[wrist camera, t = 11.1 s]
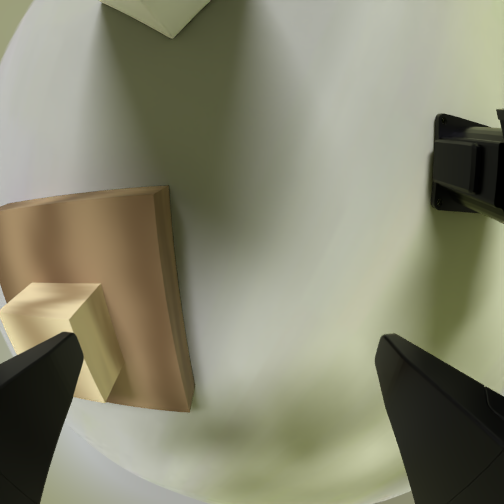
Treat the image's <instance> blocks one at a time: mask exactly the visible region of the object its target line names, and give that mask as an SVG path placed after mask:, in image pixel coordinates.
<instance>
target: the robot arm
mask: <svg viewBox="0 0 504 504" xmlns="http://www.w3.org/2000/svg"><path fill="white" fill-rule="evenodd" d="M496 111H497V116H498V119H499V120H500V123H501V128H491V127H488V126H485V125H482V124H479V123H476V122H472V121H469V120H466V119H462V118H459V117H455V116H452V115H448V114H438V115H437V116H436V119H435V143H434V165H433V187H432V197H431V205H432V207H433V208H435V209H437V210H445V211H459V212H472V213H481V214H483V215H486V216H488V217H490V218H492V219H494V220H497V221H499V222H501V223H503V224H504V109H496ZM442 118H443V120H444V124H443V123H442ZM438 200H439V204H438V205H437V201H438ZM83 361H84V354H83V351H82V349H81V346H80V343H79V341H78V338H77V336H76V334H75V333H73V332H61V333H59V334H57V335H55V336H53V337H51V338H50V339H48V340H46V341H44V342H42V343H40V344H38V345H36V346H34V347H32V348H30V349H28V350H26V351H24V352H22V353H20V354H19V355H17V356H15V357H13V358H11V359H9V360H7V361H5V362H3V363H2V364H0V504H40V501H41V497H42V493H43V489H44V485H45V482H46V478H47V474H48V471H49V467H50V464H51V461H52V457H53V454H54V451H55V448H56V444H57V442H58V439H59V436H60V433H61V430H62V427H63V424H64V421H65V419H66V416H67V413H68V410H69V408H70V405H71V402H72V399H73V396H74V392H75V389H76V385H77V382H78V378H79V375H80V371H81V368H82V365H83ZM375 366H376V370H377V374H378V378H379V382H380V387H381V391H382V395H383V400H384V404H385V407H386V411H387V414H388V417H389V420H390V423H391V425H392V428H393V431H394V434H395V437H396V441H397V444H398V447H399V450H400V453H401V456H402V460H403V463H404V466H405V469H406V473H407V476H408V480H409V483H410V487H411V490H412V494H413V498H414V501H415V504H504V396H502V395H500V394H498V393H496V392H495V391H493V390H491V389H490V388H488V387H484V385H483V384H481V383H479V382H478V381H476V380H474V379H472V378H471V377H469V376H467V375H466V374H464V373H462V372H460V371H459V370H457V369H455V368H454V367H452V366H450V365H448V364H447V363H445V362H443V361H442V360H440V359H438V358H436V357H435V356H433V355H431V354H430V353H428V352H426V351H424V350H423V349H421V348H419V347H418V346H416V345H414V344H412V343H411V342H409V341H407V340H406V339H404V338H402V337H400V336H399V335H397V334H394V333H393V334H384V335H382V336H381V338H380V341H379V345H378V348H377V352H376V355H375Z"/></svg>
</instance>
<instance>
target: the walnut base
mask: <svg viewBox="0 0 504 504" xmlns="http://www.w3.org/2000/svg"><path fill="white" fill-rule="evenodd" d="M31 283H94V284H101V286H102V290H103V294H104V297H105V301H106V305H107V308H108V312H109V315H110V318H111V322H112V325H113V328H114V331H115V334H116V337H117V340H118V343H119V346H120V349H121V352H122V355H123V358H124V361H125V362H124V364H123V366H122V369H121V371H120V373H119V375H118V377H117V379H116V381H115V383H114V385H113V387H112V390H111V392H110V394H109V396H108V398H107V400H106V402H109V403H115V404H121V405H127V406H134V407H141V408H148V409H157V410H166V411H177V412H190V409H191V403H192V398H193V393H194V388H195V383H194V378H193V373H192V368H191V362H190V357H189V351H188V345H187V339H186V333H185V327H184V320H183V313H182V307H181V300H180V292H179V285H178V277H177V269H176V260H175V251H174V241H173V231H172V220H171V208H170V195H169V185H166V186H151V187H138V188H126V189H115V190H105V191H95V192H86V193H77V194H69V195H62V196H54V197H47V198H40V199H34V200H27V201H21V202H15V203H9V204H6V205H4V206H1V207H0V284H1V288H2V291H3V294H4V297H5V300H6V302H7V303H8V302H9V301H11V300H12V299H13V298H14V297H15V296H16V295H18V294H19V293H20V292H21V291H22V290H24V289H25V288H26V287H27V286H28V285H30V284H31Z"/></svg>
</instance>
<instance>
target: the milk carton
mask: <svg viewBox="0 0 504 504" xmlns="http://www.w3.org/2000/svg"><path fill="white" fill-rule="evenodd" d="M99 1H100V2H102V3H104V4H106V5H108V6H110V7H112V8H115V9H117V10H119V11H121V12H123V13H125V14H127V15H129V16H131V17H133V18H134V19H136V20H138V21H140V22H142V23H144V24H146V25H148V26H149V27H151V28H153V29H155V30H157V31H158V32H160V33H162V34H164V35H165V36H167V37H169V38H171V39H173V38H174V37H175V36H176V35H177V34H178V33H179V32H180V31H181V30H182V29H183V28H184V26H185V25H186V24H187V23H188V22H189V21H190V20H191V19H192V18H193V17H194V16H195V15H196V14H197V13H198V12H199V11H200V10H201V9H202V8H203V7H204V6H205V5H207V4H208V3H209V2H210V1H211V0H99Z"/></svg>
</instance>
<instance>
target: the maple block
mask: <svg viewBox="0 0 504 504" xmlns="http://www.w3.org/2000/svg"><path fill="white" fill-rule="evenodd" d="M0 318H1V321H2V323H3V325H4V328H5V330H6V332H7V335H8V337H9V339H10V341H11V343H12V345H13V347H14V349H15V351H16V353H17V355H19V354H20V353H22V352H24V351H26V350H28V349H30V348H32V347H34V346H36V345H38V344H40V343H42V342H44V341H46V340H48V339H50V338H51V337H53V336H55V335H57V334H59V333H61V332H73V333H75V334H76V336H77V338H78V341H79V343H80V346H81V349H82V351H83V354H84V361H83V365H82V368H81V371H80V375H79V378H78V382H77V385H76V389H75V392H74V396H73V397H77V398H81V399H86V400H91V401H97V402H102V403H106V400H107V398H108V396H109V394H110V392H111V390H112V387H113V385H114V383H115V381H116V379H117V377H118V375H119V373H120V371H121V369H122V366H123V364H124V362H125V361H124V358H123V355H122V352H121V349H120V346H119V343H118V340H117V337H116V334H115V331H114V328H113V325H112V322H111V318H110V315H109V312H108V308H107V305H106V301H105V297H104V294H103V290H102V286H101V284H94V283H31V284H30V285H28V286H27V287H26V288H25V289H24V290H22V291H21V292H20V293H19V294H18V295H16V296H15V297H14V298H13V299H12V300H11V301H9V302H8V303H7V304H6V305H5V306H4V307H3V308H2V309H0Z"/></svg>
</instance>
